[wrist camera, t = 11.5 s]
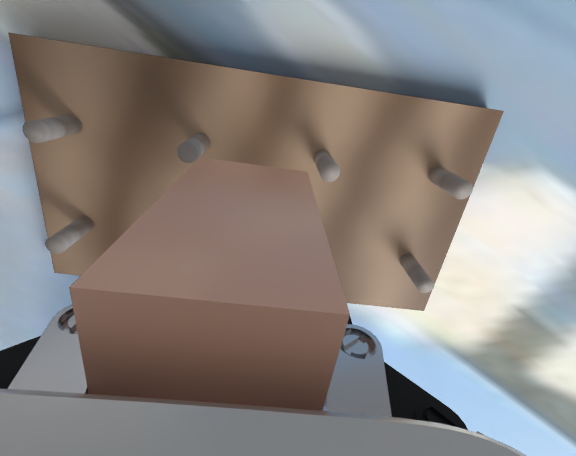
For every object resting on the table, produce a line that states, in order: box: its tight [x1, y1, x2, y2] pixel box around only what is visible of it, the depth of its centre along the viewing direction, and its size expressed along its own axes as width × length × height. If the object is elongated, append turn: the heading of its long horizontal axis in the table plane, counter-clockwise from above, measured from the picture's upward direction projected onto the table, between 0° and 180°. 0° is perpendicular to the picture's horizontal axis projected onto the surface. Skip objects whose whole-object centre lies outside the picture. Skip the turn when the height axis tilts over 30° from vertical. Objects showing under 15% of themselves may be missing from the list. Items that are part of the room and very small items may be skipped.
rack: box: [9, 33, 504, 311], centre depth 19 cm, size 26×14×4 cm, turn 82°
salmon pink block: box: [69, 157, 350, 411], centre depth 10 cm, size 4×7×8 cm, turn 172°
